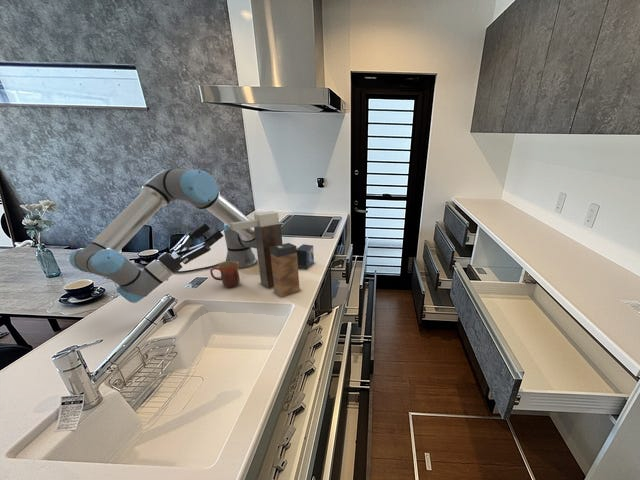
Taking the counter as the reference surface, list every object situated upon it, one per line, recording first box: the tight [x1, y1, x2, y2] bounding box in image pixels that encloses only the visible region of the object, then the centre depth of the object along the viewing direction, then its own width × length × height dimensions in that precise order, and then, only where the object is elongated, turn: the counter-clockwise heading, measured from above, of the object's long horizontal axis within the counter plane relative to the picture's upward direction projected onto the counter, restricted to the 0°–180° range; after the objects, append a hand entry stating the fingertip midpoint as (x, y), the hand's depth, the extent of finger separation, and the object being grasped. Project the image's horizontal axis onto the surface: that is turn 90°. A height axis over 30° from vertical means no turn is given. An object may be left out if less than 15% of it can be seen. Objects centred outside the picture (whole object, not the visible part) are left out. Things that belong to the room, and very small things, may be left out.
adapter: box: [270, 242, 298, 257], centre depth 126 cm, size 9×6×3 cm, turn 135°
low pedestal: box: [270, 253, 301, 298], centre depth 131 cm, size 9×6×18 cm, turn 135°
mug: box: [209, 260, 241, 289], centre depth 136 cm, size 12×9×10 cm
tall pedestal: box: [254, 223, 283, 289], centre depth 136 cm, size 9×7×28 cm
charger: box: [230, 210, 280, 231], centre depth 126 cm, size 20×5×5 cm, turn 135°
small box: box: [296, 243, 315, 270], centre depth 161 cm, size 11×6×10 cm, turn 168°
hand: (214, 229), depth 116 cm, fingers open, 13 cm apart
